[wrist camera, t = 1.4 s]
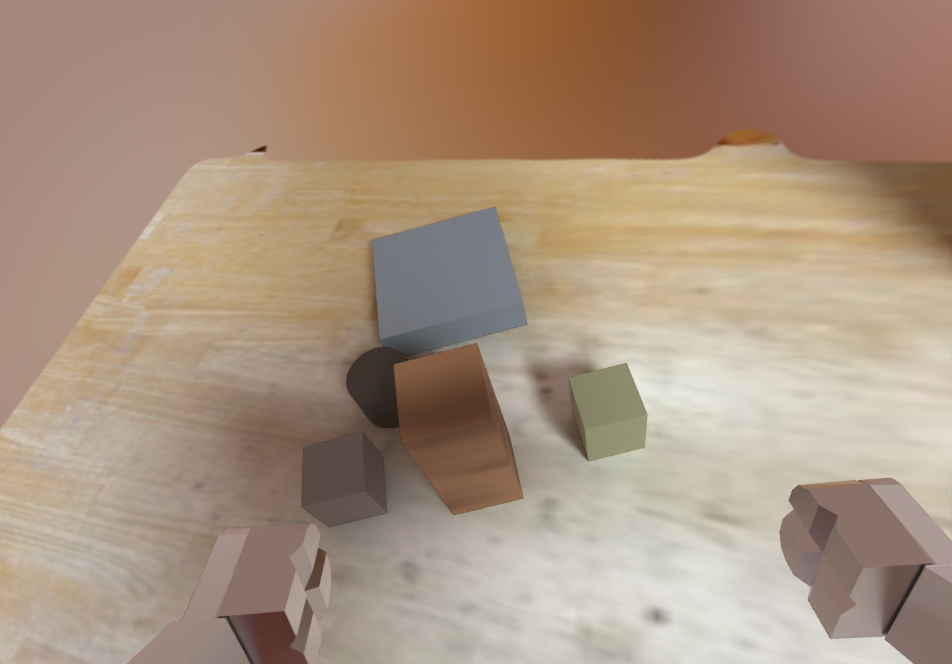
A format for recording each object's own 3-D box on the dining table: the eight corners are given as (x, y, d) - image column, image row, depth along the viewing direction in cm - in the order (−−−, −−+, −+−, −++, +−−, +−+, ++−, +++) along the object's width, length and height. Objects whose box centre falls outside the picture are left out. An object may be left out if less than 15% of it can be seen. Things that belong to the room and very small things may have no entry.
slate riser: (382, 261, 56) (372, 240, 53) (500, 229, 55) (495, 206, 52) (391, 359, 48) (379, 339, 46) (527, 324, 48) (522, 302, 45)
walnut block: (444, 450, 42) (393, 364, 33) (509, 434, 42) (476, 342, 32) (453, 515, 39) (400, 441, 30) (523, 498, 39) (492, 418, 29)
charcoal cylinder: (389, 365, 48) (373, 338, 45) (436, 387, 46) (422, 360, 43) (353, 412, 46) (333, 387, 43) (400, 438, 44) (383, 414, 41)
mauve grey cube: (328, 471, 43) (303, 447, 40) (383, 457, 43) (362, 432, 40) (328, 527, 41) (301, 507, 37) (387, 513, 40) (365, 491, 37)
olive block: (573, 412, 42) (568, 377, 38) (625, 399, 42) (626, 362, 38) (588, 461, 40) (585, 429, 36) (644, 447, 39) (647, 414, 35)
